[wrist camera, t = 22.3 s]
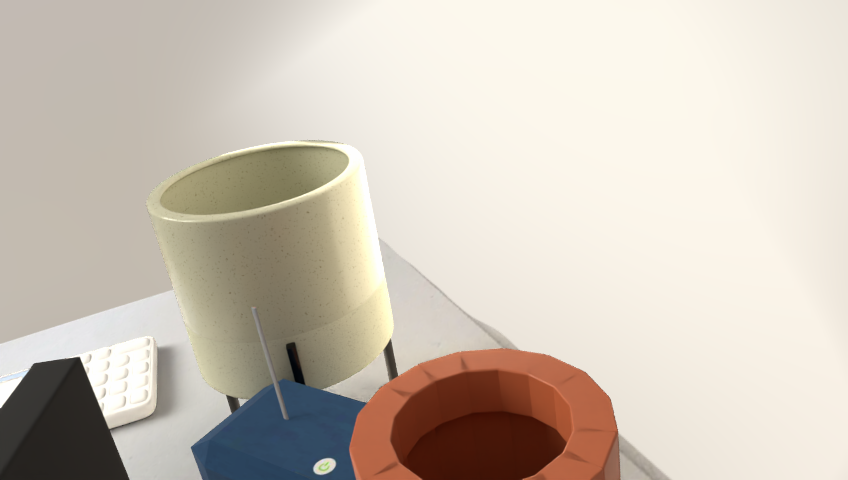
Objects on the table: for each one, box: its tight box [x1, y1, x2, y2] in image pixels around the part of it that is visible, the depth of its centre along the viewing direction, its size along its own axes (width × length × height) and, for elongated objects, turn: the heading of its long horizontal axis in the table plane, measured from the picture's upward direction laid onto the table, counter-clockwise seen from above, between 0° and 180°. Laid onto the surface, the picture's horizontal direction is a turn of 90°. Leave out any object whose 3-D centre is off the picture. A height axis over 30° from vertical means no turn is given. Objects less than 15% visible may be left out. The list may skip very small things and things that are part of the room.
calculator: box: [0, 336, 158, 429], centre depth 71 cm, size 13×20×2 cm, turn 108°
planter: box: [146, 140, 398, 413], centre depth 58 cm, size 15×16×23 cm
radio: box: [191, 307, 367, 480], centre depth 43 cm, size 21×9×20 cm, turn 56°
